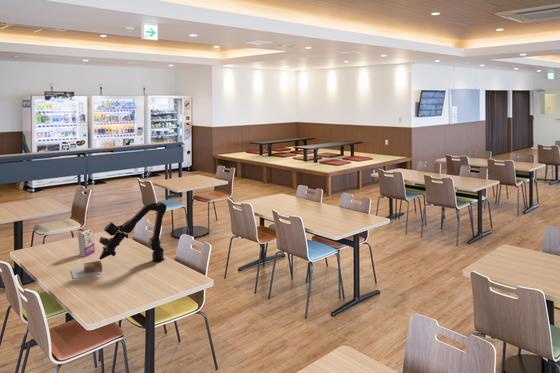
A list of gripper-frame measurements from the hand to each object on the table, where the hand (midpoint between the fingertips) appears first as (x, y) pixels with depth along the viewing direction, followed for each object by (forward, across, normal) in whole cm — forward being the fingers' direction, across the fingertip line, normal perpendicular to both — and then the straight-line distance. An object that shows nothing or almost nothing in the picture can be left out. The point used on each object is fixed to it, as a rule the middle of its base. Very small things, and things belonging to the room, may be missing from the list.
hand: (99, 259), depth 305 cm
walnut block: (+3, 0, +4) cm, 4 cm away
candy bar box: (+8, -38, +3) cm, 38 cm away
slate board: (+11, 0, -1) cm, 11 cm away
